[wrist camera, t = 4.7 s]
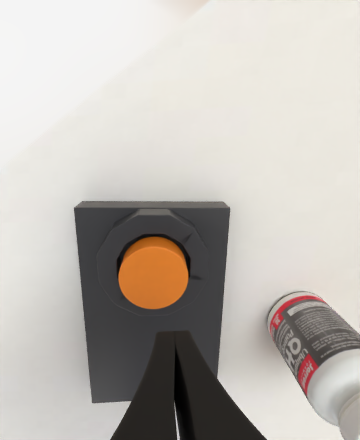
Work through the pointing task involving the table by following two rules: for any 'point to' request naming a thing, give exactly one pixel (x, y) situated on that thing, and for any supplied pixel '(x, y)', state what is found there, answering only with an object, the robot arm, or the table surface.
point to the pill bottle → (320, 357)
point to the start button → (153, 273)
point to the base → (137, 316)
